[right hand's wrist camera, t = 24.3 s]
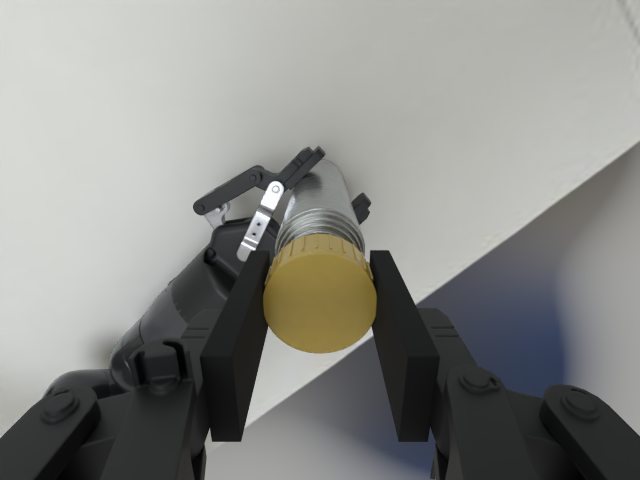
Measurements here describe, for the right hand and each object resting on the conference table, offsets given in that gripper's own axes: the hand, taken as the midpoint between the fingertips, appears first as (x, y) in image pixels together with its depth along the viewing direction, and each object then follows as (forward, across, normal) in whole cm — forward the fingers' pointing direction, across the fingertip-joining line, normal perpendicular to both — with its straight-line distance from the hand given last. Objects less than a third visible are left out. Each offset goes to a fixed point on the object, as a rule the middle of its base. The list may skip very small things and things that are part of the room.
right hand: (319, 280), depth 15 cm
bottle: (+20, 0, 0) cm, 20 cm away
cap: (-2, 0, 0) cm, 2 cm away
